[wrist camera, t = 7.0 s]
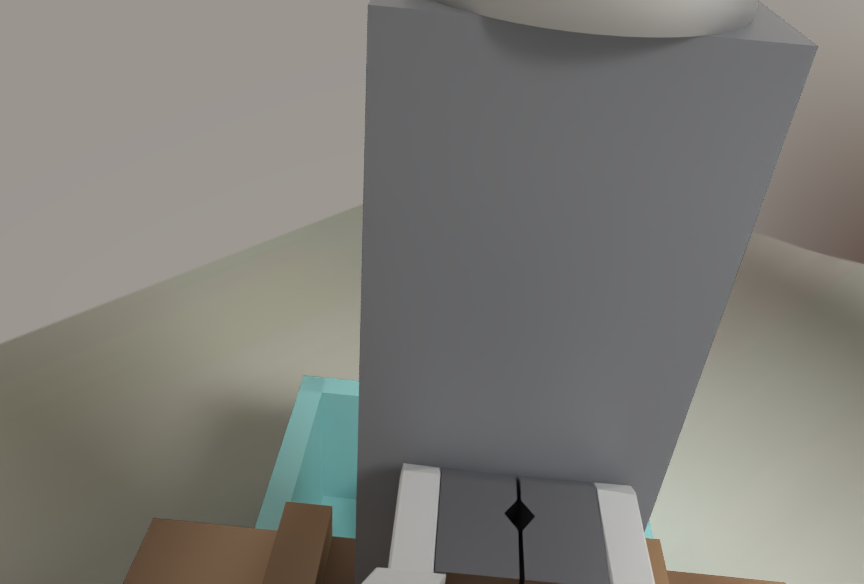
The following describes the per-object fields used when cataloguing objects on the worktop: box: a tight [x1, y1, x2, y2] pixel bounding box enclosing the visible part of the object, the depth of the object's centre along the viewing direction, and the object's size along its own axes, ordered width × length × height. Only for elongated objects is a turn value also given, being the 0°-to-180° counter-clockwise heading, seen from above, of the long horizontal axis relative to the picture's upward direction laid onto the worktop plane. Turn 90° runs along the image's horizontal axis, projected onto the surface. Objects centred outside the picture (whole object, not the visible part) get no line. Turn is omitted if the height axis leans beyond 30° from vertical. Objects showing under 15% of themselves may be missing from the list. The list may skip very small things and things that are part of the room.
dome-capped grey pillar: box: [354, 0, 818, 584], centre depth 11 cm, size 4×4×13 cm
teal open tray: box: [255, 376, 653, 539], centre depth 24 cm, size 12×10×6 cm
